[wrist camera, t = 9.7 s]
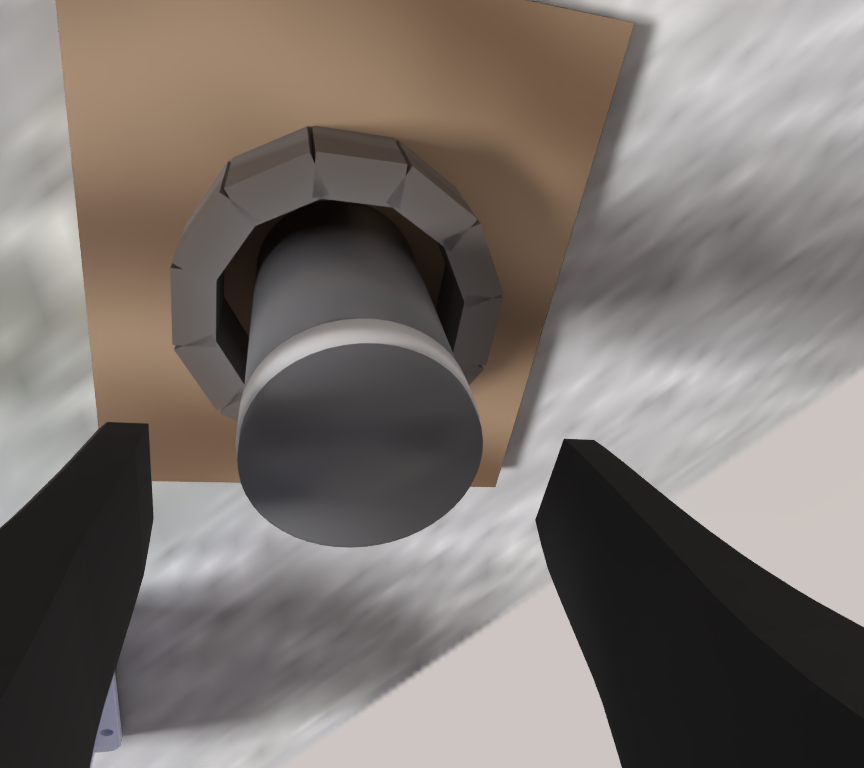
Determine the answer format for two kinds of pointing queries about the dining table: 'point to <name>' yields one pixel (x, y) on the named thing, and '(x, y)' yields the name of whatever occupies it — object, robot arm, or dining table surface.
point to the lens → (350, 385)
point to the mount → (319, 182)
